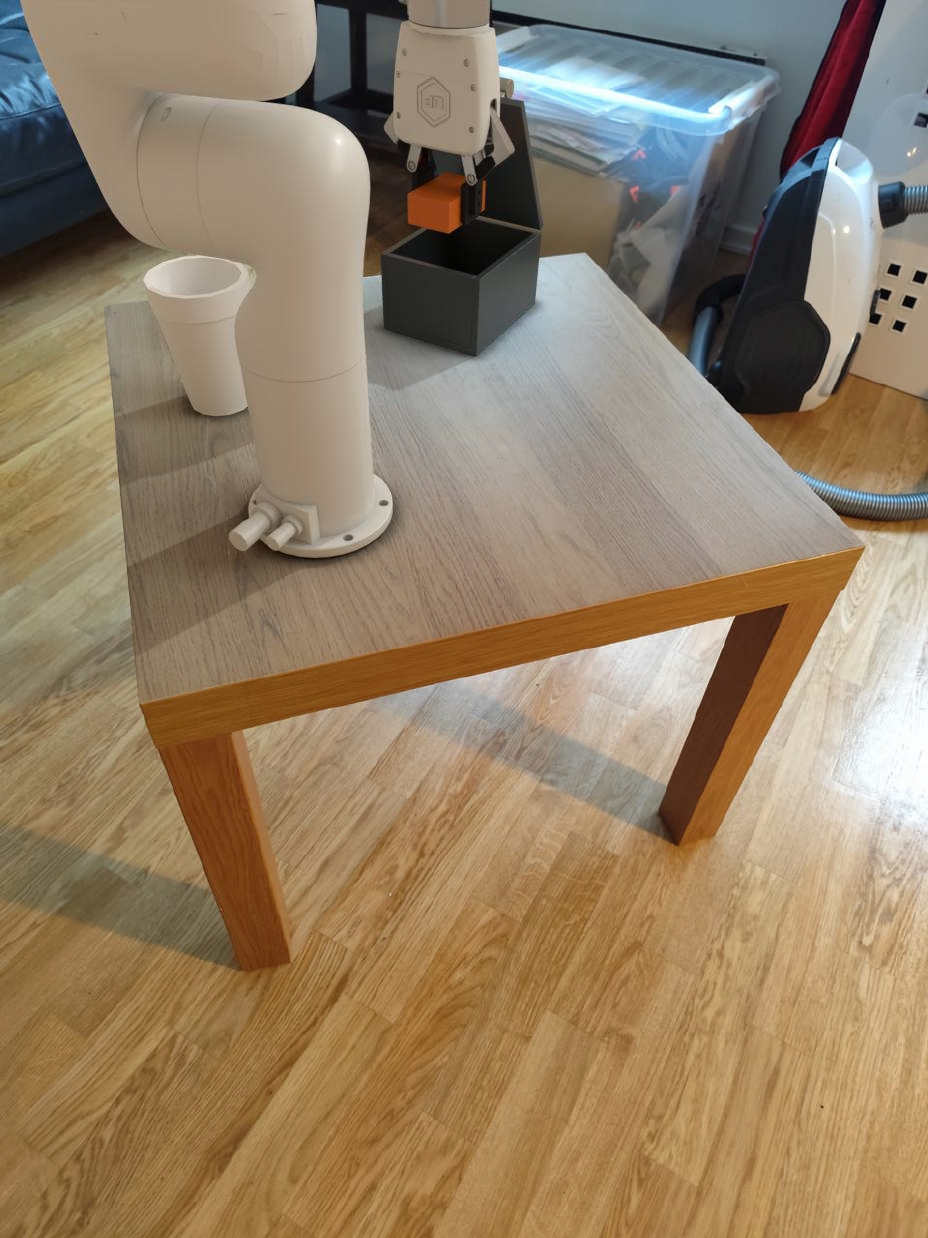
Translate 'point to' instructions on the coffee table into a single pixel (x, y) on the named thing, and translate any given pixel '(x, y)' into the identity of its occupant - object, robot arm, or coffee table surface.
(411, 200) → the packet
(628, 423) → the coffee table surface
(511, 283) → the bin
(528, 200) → the lid
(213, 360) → the foam cup
